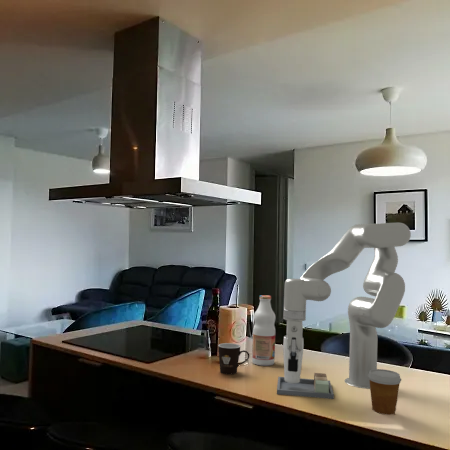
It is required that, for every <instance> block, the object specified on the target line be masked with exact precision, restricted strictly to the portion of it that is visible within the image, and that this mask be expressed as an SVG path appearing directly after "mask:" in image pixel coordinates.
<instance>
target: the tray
mask: <svg viewBox="0 0 450 450" xmlns="http://www.w3.org/2000/svg"><path fill="white" fill-rule="evenodd" d="M328 383H329V393H320V392H315V388H314V378H313V379H312V378H301V377H300V382H299V383H297V384H291V383H287V382H285V380H284V376H278V377H277V385H276V395H281V396H284V395H285V396H291V397H292V396H295V397H304V398H316V399H318V398H319V399H326V400H327V399H328V400H333V399H334V398H335V394H334V390H333V387H332V383H331V380H328Z"/></svg>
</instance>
